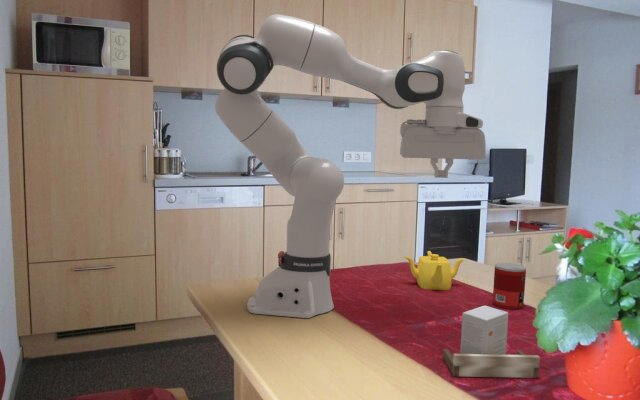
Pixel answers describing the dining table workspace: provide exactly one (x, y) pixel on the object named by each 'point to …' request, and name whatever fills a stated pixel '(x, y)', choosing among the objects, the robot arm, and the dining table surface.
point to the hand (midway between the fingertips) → (440, 177)
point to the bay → (492, 365)
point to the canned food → (509, 285)
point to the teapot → (434, 271)
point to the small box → (484, 331)
